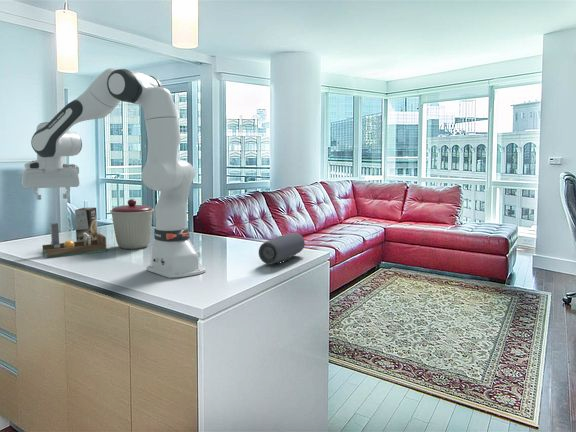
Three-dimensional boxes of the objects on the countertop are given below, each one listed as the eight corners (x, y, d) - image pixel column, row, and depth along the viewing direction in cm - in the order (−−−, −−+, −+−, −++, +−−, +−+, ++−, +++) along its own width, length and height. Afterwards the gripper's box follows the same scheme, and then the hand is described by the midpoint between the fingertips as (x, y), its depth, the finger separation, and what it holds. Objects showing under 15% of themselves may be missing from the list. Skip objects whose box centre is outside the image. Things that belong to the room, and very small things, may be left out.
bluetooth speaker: (285, 253, 184) (285, 230, 182) (305, 256, 180) (306, 232, 178) (256, 266, 164) (256, 239, 162) (278, 269, 160) (279, 242, 158)
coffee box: (91, 245, 195) (89, 209, 193) (76, 245, 195) (74, 209, 193) (98, 241, 204) (96, 207, 202) (84, 241, 204) (82, 207, 202)
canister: (129, 253, 182) (127, 202, 179) (102, 247, 192) (100, 199, 189) (163, 245, 197) (162, 198, 194) (137, 241, 207) (135, 196, 204)
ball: (75, 250, 182) (75, 240, 182) (65, 251, 180) (64, 241, 179) (73, 248, 185) (73, 239, 185) (63, 249, 183) (62, 240, 182)
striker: (61, 252, 177) (59, 224, 175) (54, 252, 175) (52, 225, 174) (57, 248, 184) (55, 221, 182) (50, 249, 182) (49, 222, 181)
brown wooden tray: (106, 251, 186) (105, 235, 185) (47, 257, 173) (46, 240, 172) (99, 246, 195) (98, 230, 194) (42, 252, 182) (41, 236, 181)
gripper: (77, 163, 183) (78, 197, 185) (19, 164, 171) (22, 199, 173) (80, 164, 178) (82, 198, 180) (21, 164, 166) (24, 201, 168)
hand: (52, 199), depth 177 cm, fingers open, 8 cm apart
